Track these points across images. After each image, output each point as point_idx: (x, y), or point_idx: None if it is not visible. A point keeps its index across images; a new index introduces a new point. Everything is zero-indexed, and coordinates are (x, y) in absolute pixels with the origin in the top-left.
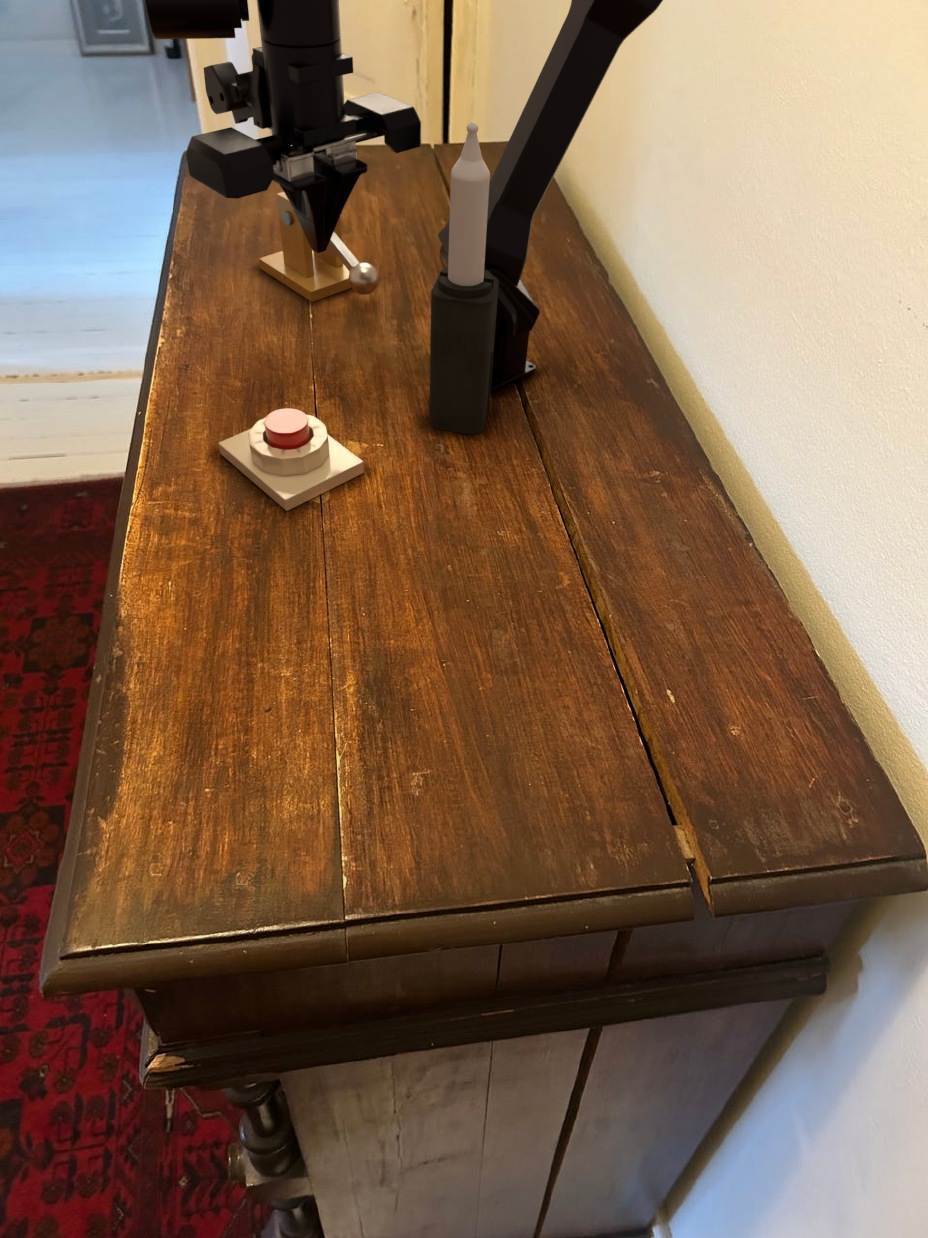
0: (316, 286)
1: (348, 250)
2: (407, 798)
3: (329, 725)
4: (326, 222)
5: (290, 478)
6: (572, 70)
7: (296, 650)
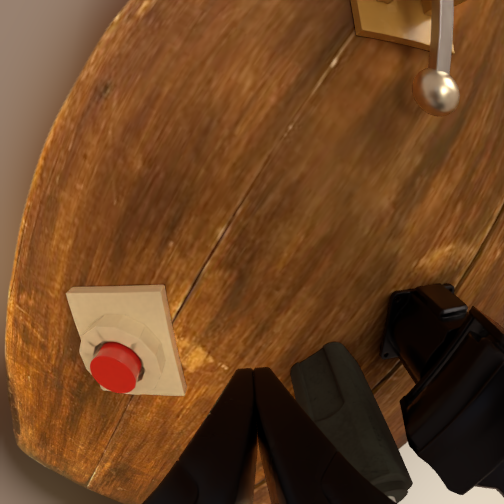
0: (376, 25)
1: (450, 44)
2: (114, 488)
3: (94, 466)
4: (268, 486)
5: None
6: None
7: (87, 444)
